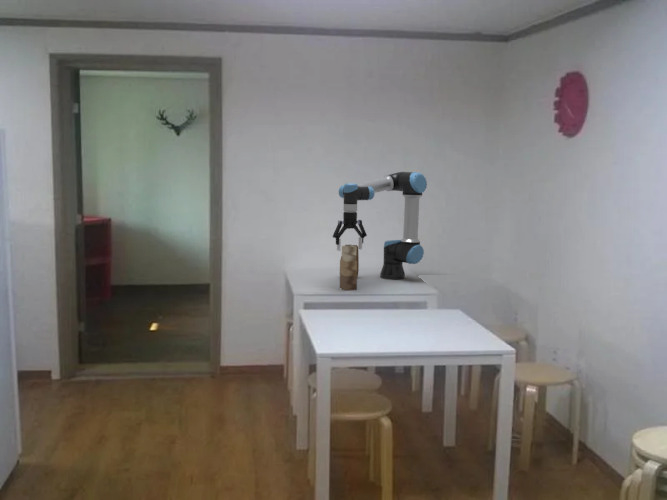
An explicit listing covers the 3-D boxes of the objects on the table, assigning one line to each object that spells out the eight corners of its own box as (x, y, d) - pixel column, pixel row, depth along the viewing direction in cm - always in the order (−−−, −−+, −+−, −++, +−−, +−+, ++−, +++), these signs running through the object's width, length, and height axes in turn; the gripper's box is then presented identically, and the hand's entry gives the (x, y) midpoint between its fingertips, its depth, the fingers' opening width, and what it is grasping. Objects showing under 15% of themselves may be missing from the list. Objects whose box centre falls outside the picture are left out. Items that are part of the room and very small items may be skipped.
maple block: (351, 259, 405) (351, 245, 404) (356, 261, 400) (356, 246, 399) (341, 260, 402) (341, 245, 401) (346, 261, 397) (347, 247, 396)
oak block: (350, 273, 407) (351, 259, 406) (356, 275, 401) (357, 261, 400) (339, 274, 404) (340, 260, 403) (345, 276, 397) (345, 261, 396)
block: (357, 276, 444) (358, 244, 441) (358, 278, 436) (359, 246, 434) (339, 276, 443) (340, 244, 440) (340, 278, 436) (341, 245, 433)
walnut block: (350, 287, 408) (351, 273, 407) (356, 289, 402) (357, 275, 401) (339, 288, 405) (340, 274, 404) (345, 290, 399) (345, 276, 398)
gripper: (366, 210, 407) (365, 247, 410) (326, 211, 395) (326, 250, 398) (373, 211, 400) (372, 249, 403) (333, 212, 389) (332, 251, 392)
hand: (349, 249), depth 401 cm, fingers open, 13 cm apart
